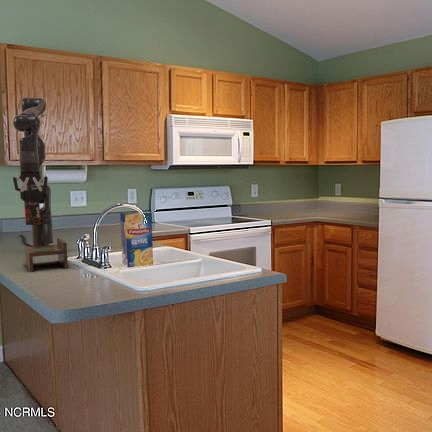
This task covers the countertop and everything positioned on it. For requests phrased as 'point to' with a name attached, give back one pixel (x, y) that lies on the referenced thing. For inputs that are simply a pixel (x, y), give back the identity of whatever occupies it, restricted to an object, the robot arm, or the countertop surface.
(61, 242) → the shelf
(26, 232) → the countertop surface
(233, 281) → the countertop surface
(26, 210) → the deodorant
